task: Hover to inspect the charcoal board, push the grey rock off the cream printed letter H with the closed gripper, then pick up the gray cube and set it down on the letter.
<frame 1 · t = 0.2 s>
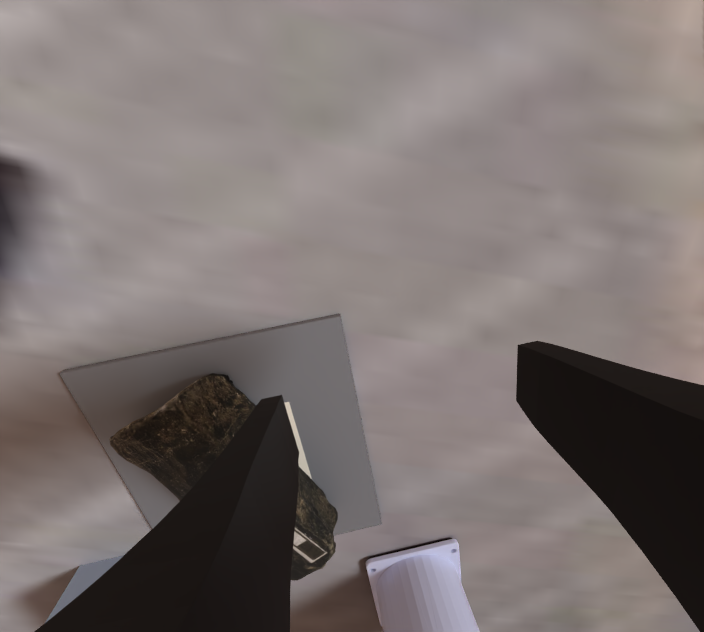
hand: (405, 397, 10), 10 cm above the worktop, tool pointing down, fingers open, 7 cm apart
letter board: (249, 457, 22), on the worktop
rock: (249, 459, 22), resting on letter board
gray cube: (128, 576, 25), on the worktop
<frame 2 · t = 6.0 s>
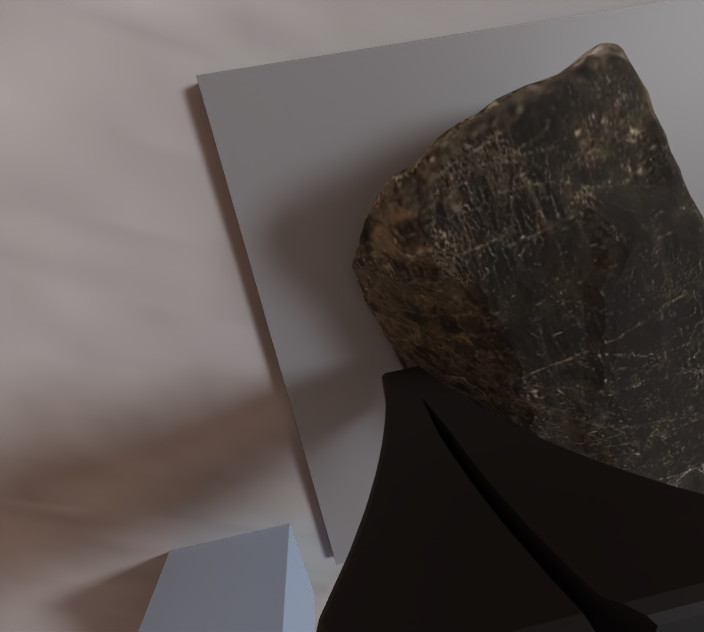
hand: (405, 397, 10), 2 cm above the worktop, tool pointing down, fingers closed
letter board: (509, 342, 12), on the worktop
rock: (528, 341, 12), resting on letter board, touching gripper
gray cube: (247, 572, 15), on the worktop
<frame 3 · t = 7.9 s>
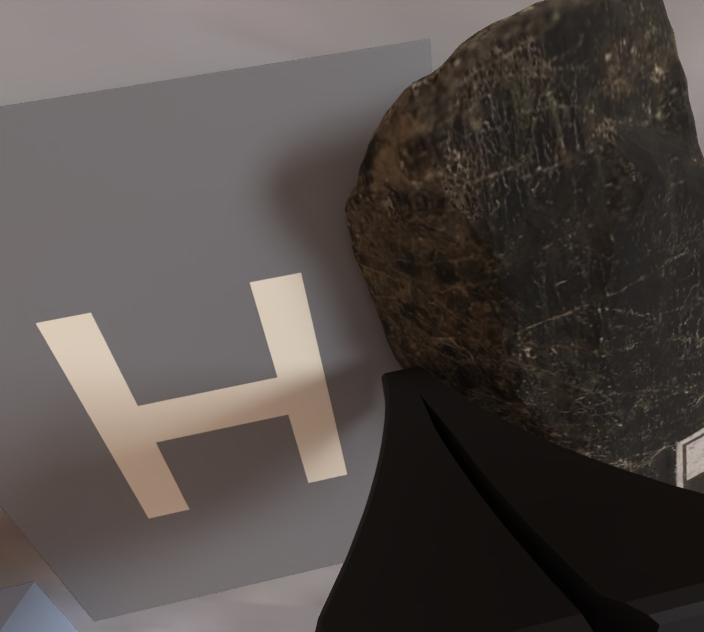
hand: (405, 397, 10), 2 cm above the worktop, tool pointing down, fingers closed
letter board: (218, 402, 11), on the worktop
rock: (510, 321, 11), on the worktop, touching gripper
gray cube: (6, 628, 14), on the worktop
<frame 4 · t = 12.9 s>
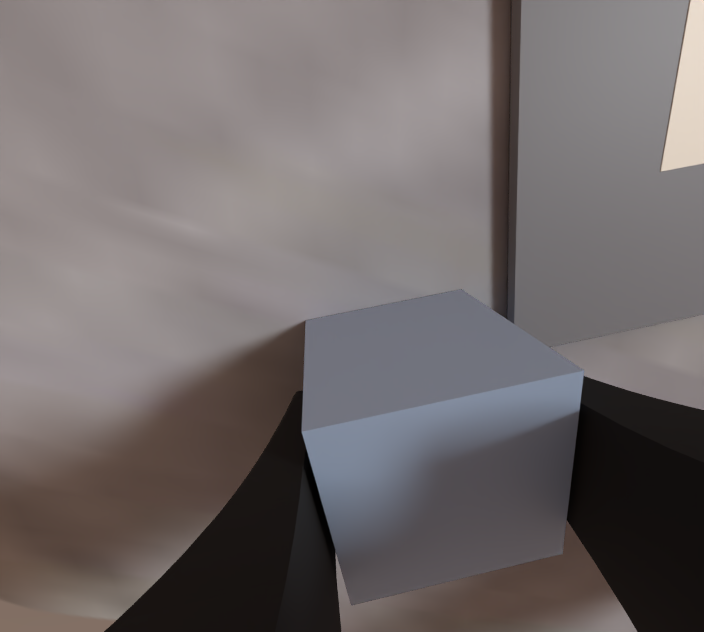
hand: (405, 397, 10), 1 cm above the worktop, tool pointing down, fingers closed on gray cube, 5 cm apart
gray cube: (394, 372, 11), on the worktop, touching gripper
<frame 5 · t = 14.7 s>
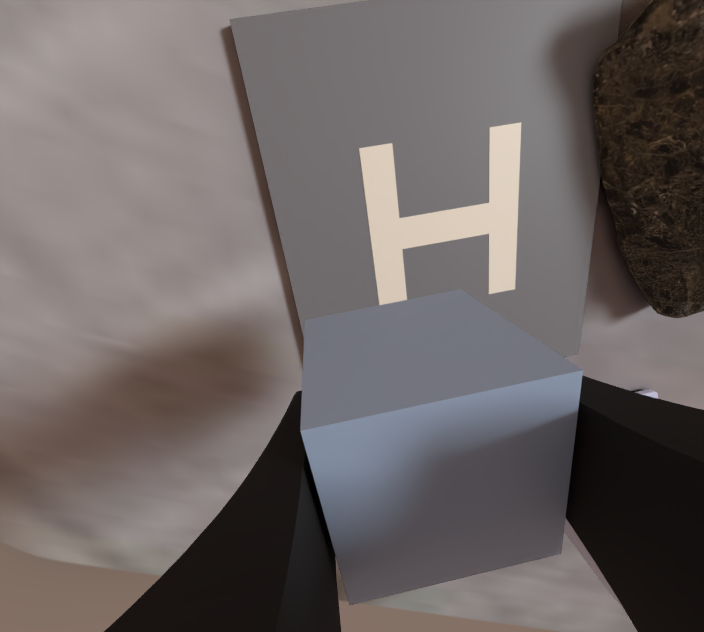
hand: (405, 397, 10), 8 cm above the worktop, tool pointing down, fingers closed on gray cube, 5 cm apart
letter board: (442, 225, 17), on the worktop
rock: (672, 158, 17), on the worktop, touching letter board
gray cube: (393, 372, 11), point 7 cm above the worktop, touching gripper
when the fingers open (3 cm above the worktop, at t = 16.5 s): gray cube drops 2 cm, resting on letter board.
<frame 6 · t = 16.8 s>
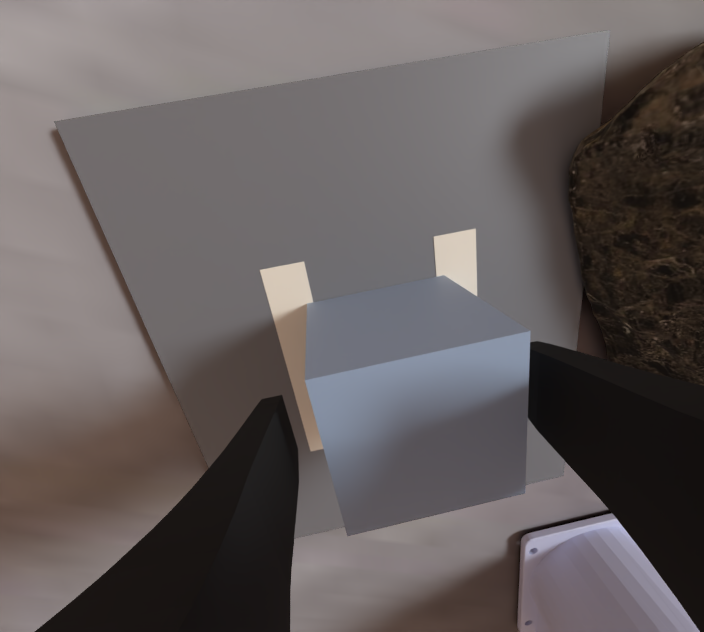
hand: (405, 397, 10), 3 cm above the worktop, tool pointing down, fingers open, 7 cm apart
letter board: (382, 346, 13), on the worktop
rock: (675, 256, 13), on the worktop, touching letter board
gray cube: (385, 350, 13), resting on letter board
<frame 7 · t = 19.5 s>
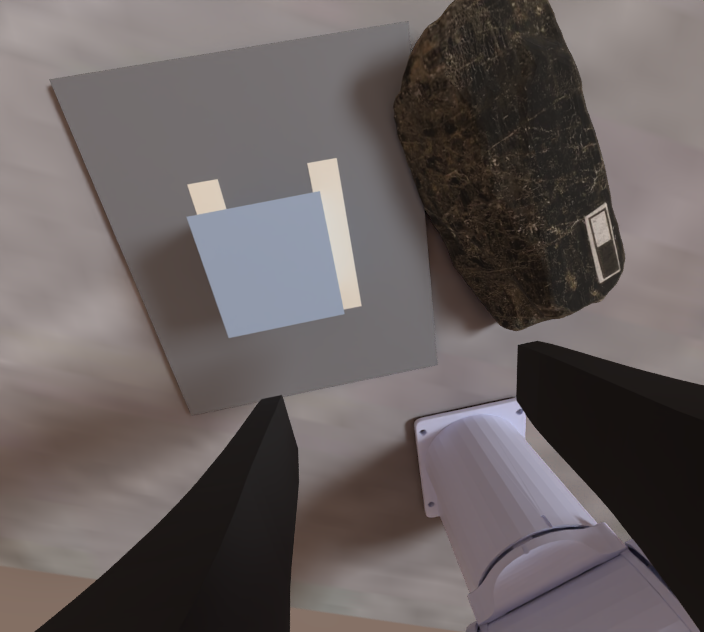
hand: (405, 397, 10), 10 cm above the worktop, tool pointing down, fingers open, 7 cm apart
letter board: (282, 249, 18), on the worktop
rock: (494, 185, 18), on the worktop, touching letter board
gray cube: (282, 249, 18), resting on letter board
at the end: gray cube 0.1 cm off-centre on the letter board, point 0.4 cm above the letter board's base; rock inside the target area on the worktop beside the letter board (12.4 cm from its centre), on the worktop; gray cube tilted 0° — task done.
